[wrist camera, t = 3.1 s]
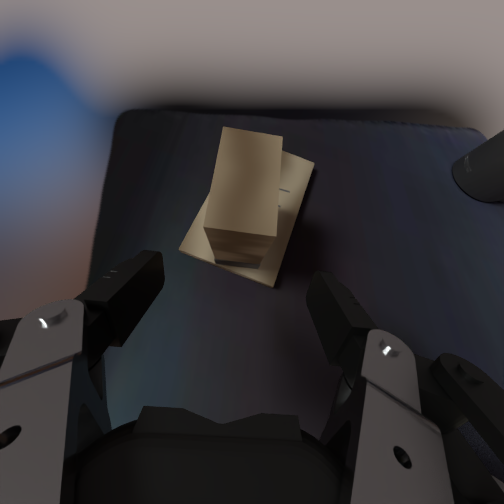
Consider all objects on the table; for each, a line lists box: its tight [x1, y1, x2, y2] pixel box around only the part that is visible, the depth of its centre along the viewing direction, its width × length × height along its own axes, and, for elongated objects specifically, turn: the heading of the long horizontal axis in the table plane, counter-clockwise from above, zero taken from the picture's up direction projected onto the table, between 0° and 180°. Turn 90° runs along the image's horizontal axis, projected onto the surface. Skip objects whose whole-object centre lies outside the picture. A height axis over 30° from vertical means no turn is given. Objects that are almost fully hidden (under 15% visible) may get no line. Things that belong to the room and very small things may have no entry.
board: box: [179, 151, 314, 288], centre depth 25 cm, size 12×20×1 cm, turn 159°
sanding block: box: [203, 127, 283, 269], centre depth 18 cm, size 5×9×10 cm, turn 174°
